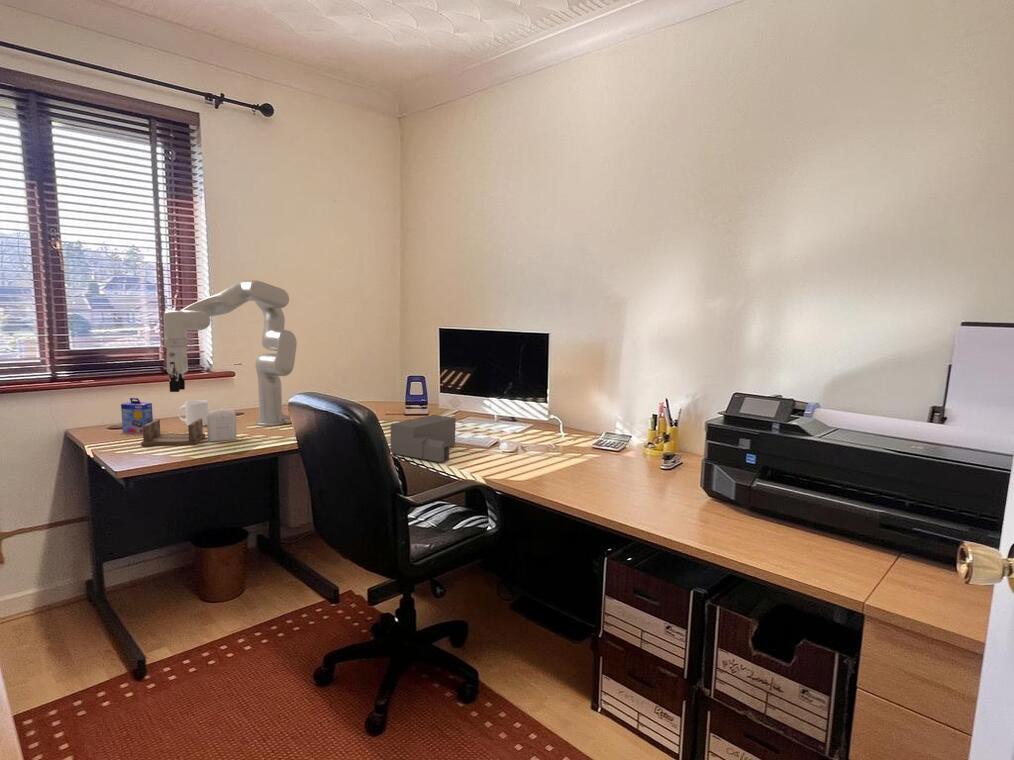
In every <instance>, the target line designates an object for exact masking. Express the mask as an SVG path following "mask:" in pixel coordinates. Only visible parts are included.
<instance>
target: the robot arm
mask: <svg viewBox="0 0 1014 760" xmlns="http://www.w3.org/2000/svg"><path fill="white" fill-rule="evenodd" d="M250 301H253V302H255V304H256V305H257V306H258V308H259V309H260V310H261V312H262V314H263V319H264V320H263V331H262V336H261V337H262V338H261V344H262V347H263V348H264V349H266V350H267V351H268V350H269V351H274V352H276V353H270V352H269V353H268V352H267V353H266V352H265V353H262V354H260V355H259V356H258V357H257V358H256V360H255V365H254V366H255V370H256V376H257V384H258V386H257V387H258V390H257V391H258V420H256V421H255V422H254V423H255V425H256V426H260V427H261V426H262V427H263V426H264V427H272V426H273V427H275V426H280V425H281V424H282V425H284V423H285V422H286V421H287V420H288V421H289V420H290V414H284V412H283V407H282V405H283V404H282V403H283V401H282V399H283V398H282V380H281V377H287V376H289V375H290V374H291V373H292V372H293V370H294V366H295V361H296V353H297V352H296V351H297V345H298V341H297V338H296V336H295V334H294V332H292V331H291V330H288V329H285V323H286V321H285V318H286V317H285V314H284V312H283V308H285V307H287V306H288V304H289V302H290V296H289V293H287V291H286V290H285V289H283V288H280V287H278V286H275V285H272V284H270V283H267V282H264V281H260V280H255V279H253V280H251V279H250V280H248V279H245V280H240V281H237V282H236V283H234V284H232V285H231V286H229V287H227V288H225V289H224V290H222V291H220V292H218V293H216V294H215V295H211V296H209V297H206V298H203V299H201V300H197V301H196V302H194V303H192V304H189V305H188V306H186V307H184V308H182V309H180V310H165V311H164V312H163V335H164V336H163V339H164V348H165V349H166V371H167V373H168V376H169V377H168V379H169V381H168V382H169V392H170V393H179V392H180V391H181V390H183V391H184V390H186V386H185V385H186V380H185V378H186V377H185V374H186V373H188V371H189V364H188V352H187V348H188V330H191V331H203V330H206V329H207V328H209V327H210V324H211V318H212V317H216V316H222V315H226V314H228V313H229V314H230V313H231V312H233V311H234V310H236V309H238V308H239V307H241V306H242V305H245V304H246V303H248V302H250ZM290 421H291V420H290ZM286 423H287V422H286ZM286 423H285V424H286Z"/></svg>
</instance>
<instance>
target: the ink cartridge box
mask: <svg viewBox="0 0 1014 760" xmlns="http://www.w3.org/2000/svg"><path fill="white" fill-rule="evenodd" d="M120 407H121V408H120V409H121V410H120V411H121V423H122V425H121V427H122V428H121V429H122V433H124V434H143V426H144V425H146V424H148V423H150V422H152V421H154V418H153V403H152V402H141V401H140V400H139V398H137V397H136V398H135V397H129V402H123V403H121V404H120Z"/></svg>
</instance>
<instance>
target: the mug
mask: <svg viewBox="0 0 1014 760" xmlns="http://www.w3.org/2000/svg"><path fill="white" fill-rule="evenodd" d="M184 403H185V404H183V405H181V407H179V409H178V412H177V413H178V418H179V420H180V421H181V422H183V423H185V425H186V427H188V425H190V424H191V423H193V422H194V421H196V420H198V419H202V427H204V426H205V425H206V426H207V416H208V412H209V401H208V400H205V399H204V400H203V399H202V400H201V399H200V400H199V399H196V400H186V401H185V402H184ZM184 409H185V418H183V417H181V414H180V413H181V411H182V410H184ZM206 426H205V427H206Z"/></svg>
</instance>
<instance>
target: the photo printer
mask: <svg viewBox="0 0 1014 760" xmlns="http://www.w3.org/2000/svg"><path fill="white" fill-rule="evenodd" d="M206 426H207V428H206V429H207V442H209V443H210V442H211V443H212V442H223V441H225V442H226V441H234V440H237V413H236V410H233V409H229V408H219V409H214V410H211V411H208V416H207V425H206Z"/></svg>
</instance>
